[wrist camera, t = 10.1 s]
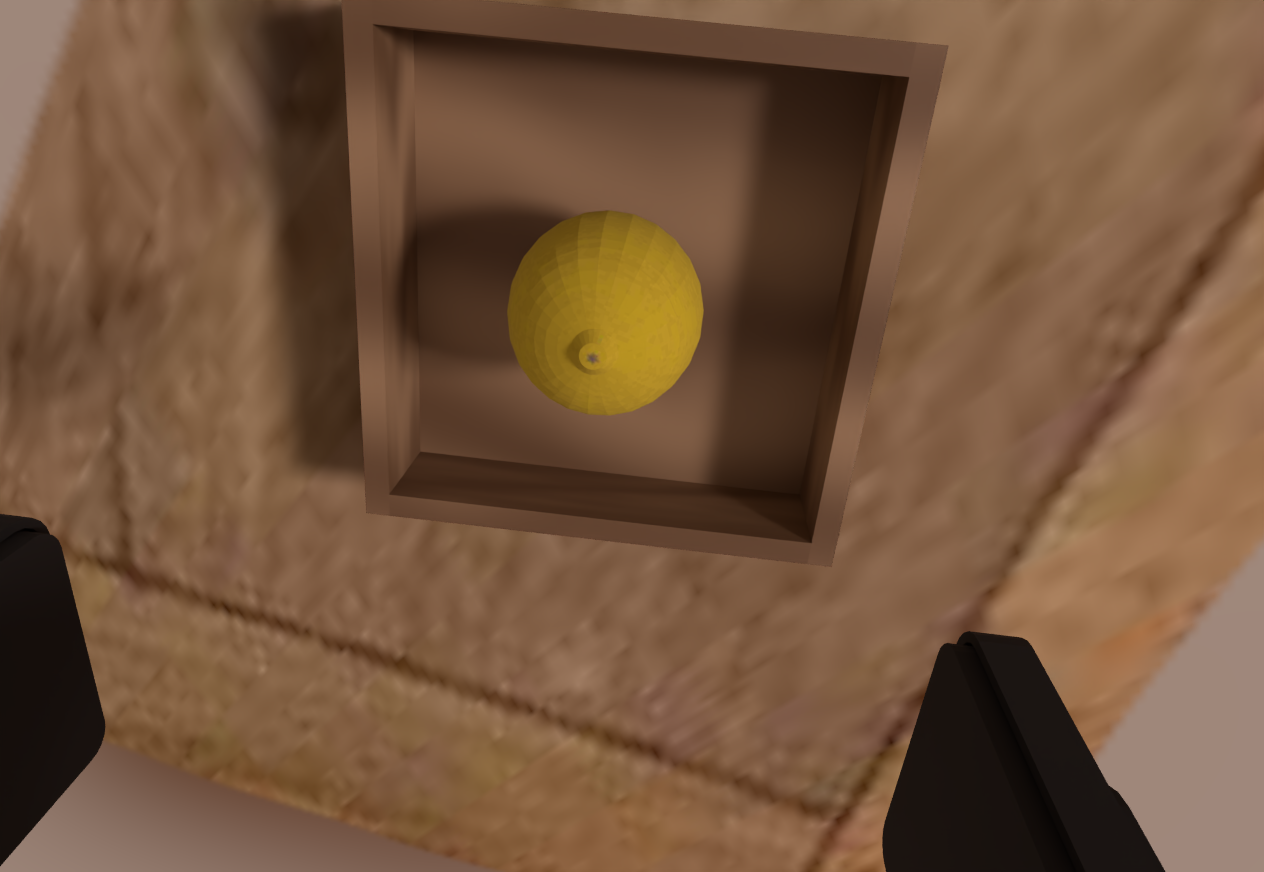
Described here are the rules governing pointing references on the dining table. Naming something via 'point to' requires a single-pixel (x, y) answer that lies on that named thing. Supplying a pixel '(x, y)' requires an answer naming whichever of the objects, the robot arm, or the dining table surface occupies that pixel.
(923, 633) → the dining table surface
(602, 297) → the lemon
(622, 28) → the bin
